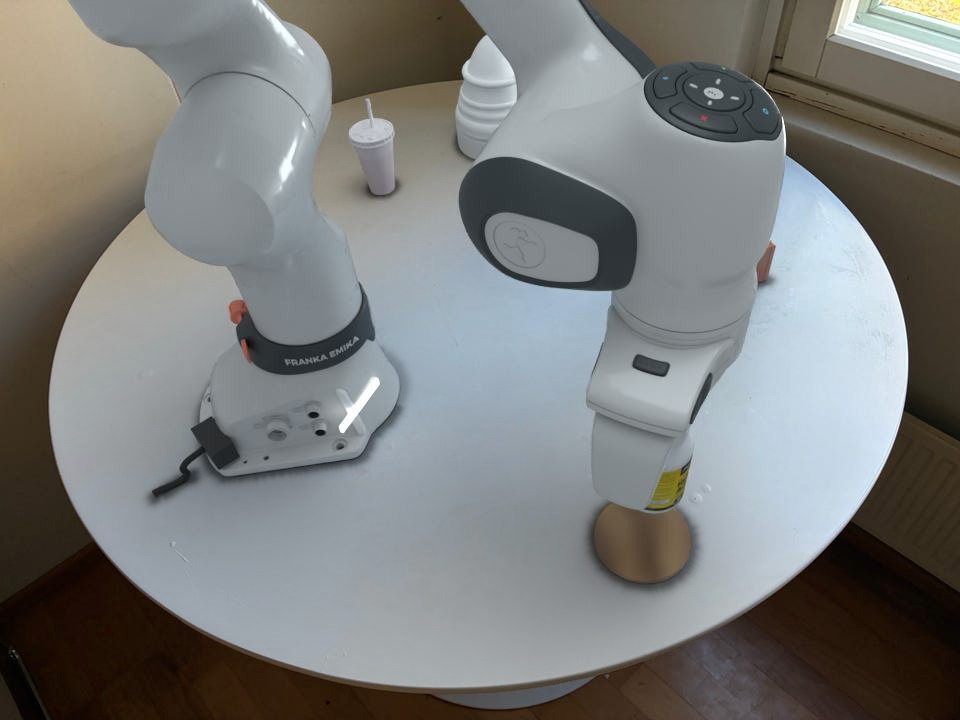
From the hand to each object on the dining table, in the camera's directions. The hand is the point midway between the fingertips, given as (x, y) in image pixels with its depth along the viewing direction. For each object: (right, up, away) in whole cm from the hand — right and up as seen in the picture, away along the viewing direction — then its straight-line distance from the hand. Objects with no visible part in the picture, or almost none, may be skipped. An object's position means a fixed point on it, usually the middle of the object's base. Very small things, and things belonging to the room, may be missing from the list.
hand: (658, 439), depth 60 cm
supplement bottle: (+1, -5, +5) cm, 7 cm away
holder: (+16, +18, +36) cm, 43 cm away
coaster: (+1, -11, +12) cm, 16 cm away
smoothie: (-29, +32, +53) cm, 68 cm away
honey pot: (-11, +41, +60) cm, 73 cm away
